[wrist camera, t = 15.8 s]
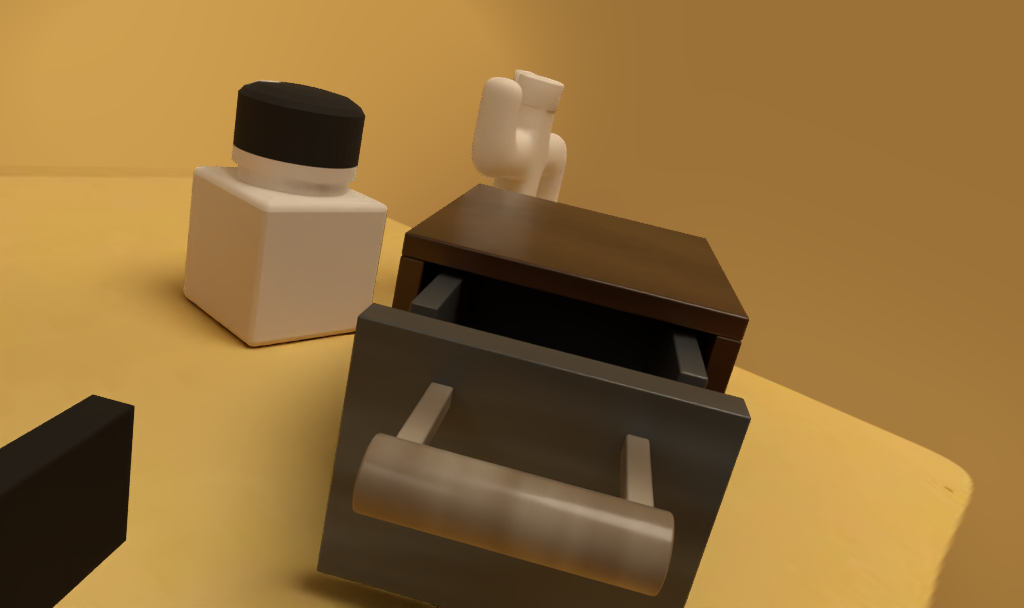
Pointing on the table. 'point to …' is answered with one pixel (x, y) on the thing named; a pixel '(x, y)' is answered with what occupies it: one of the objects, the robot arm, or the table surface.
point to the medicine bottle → (285, 220)
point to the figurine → (520, 135)
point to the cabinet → (581, 264)
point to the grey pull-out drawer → (526, 452)
